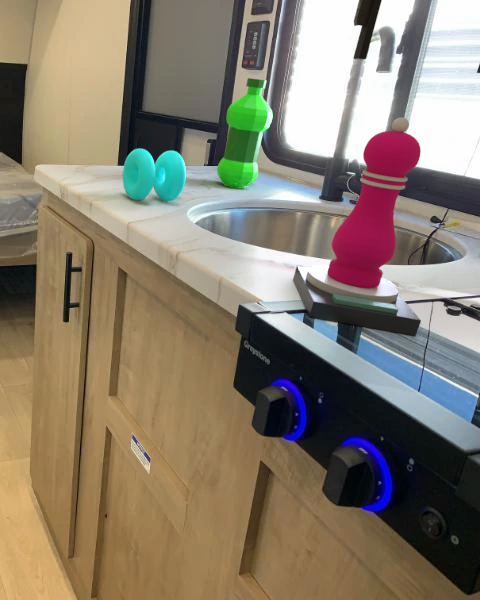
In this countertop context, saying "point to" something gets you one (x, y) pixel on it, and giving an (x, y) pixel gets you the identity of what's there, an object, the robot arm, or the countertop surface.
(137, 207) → the countertop surface
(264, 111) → the plastic bottle
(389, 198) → the pepper mill
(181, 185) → the turquoise spool
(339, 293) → the kitchen scale
